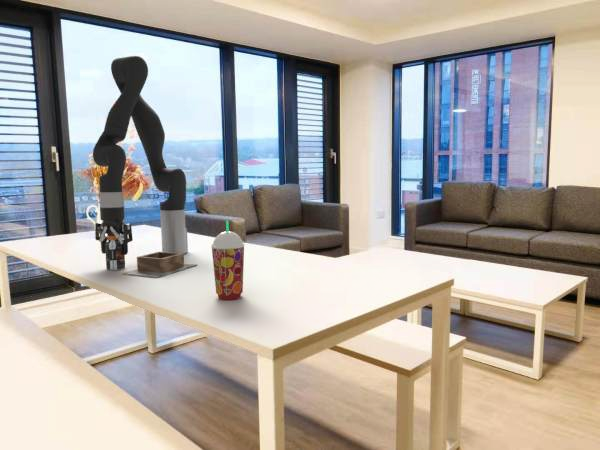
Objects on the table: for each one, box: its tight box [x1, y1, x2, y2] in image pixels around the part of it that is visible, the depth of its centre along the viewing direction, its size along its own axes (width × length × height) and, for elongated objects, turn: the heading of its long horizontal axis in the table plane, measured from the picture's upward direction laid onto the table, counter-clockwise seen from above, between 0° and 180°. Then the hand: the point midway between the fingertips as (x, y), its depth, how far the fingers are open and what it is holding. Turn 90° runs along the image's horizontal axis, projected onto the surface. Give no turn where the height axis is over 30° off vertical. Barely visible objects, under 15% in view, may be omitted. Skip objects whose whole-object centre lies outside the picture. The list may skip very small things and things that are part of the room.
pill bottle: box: [105, 236, 126, 271], centre depth 163 cm, size 6×6×11 cm
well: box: [122, 251, 198, 279], centre depth 160 cm, size 20×14×5 cm
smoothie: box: [210, 220, 245, 301], centre depth 124 cm, size 8×8×20 cm
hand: (114, 253), depth 163 cm, fingers open, 8 cm apart
